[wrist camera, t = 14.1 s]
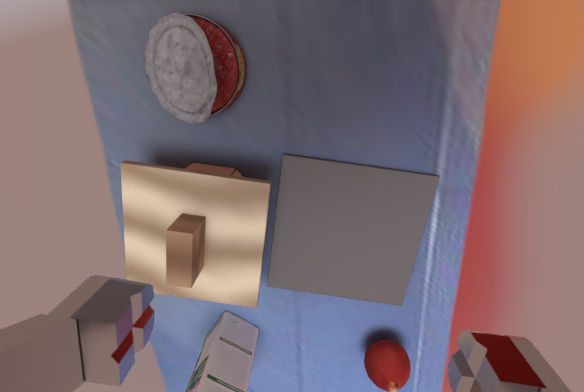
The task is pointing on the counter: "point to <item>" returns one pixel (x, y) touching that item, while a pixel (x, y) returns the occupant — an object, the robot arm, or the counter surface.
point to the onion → (387, 365)
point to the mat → (348, 228)
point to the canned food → (193, 66)
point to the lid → (194, 232)
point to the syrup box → (226, 357)
